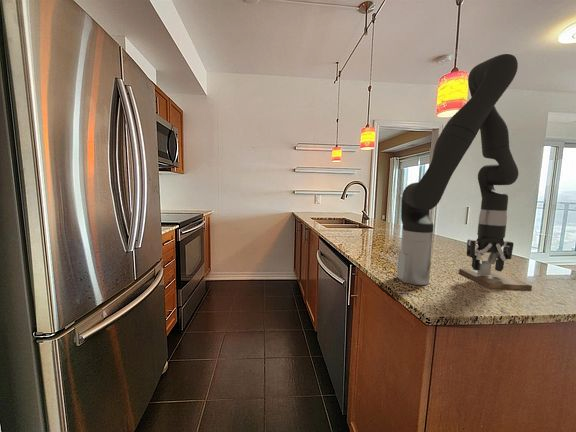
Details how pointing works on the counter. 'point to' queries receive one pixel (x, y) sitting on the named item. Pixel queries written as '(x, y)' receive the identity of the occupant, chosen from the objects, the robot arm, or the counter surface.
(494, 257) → the lighter
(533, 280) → the counter surface
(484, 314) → the counter surface
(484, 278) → the brown flat slab
